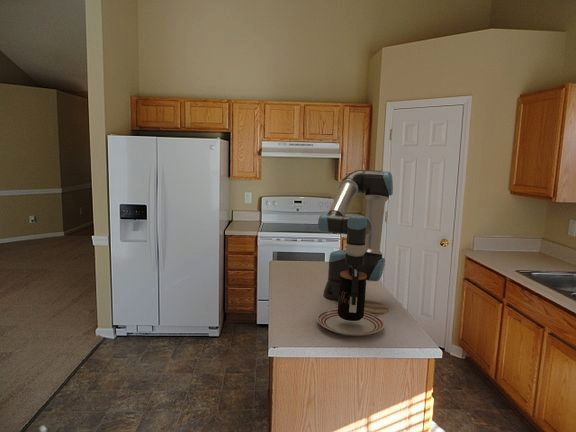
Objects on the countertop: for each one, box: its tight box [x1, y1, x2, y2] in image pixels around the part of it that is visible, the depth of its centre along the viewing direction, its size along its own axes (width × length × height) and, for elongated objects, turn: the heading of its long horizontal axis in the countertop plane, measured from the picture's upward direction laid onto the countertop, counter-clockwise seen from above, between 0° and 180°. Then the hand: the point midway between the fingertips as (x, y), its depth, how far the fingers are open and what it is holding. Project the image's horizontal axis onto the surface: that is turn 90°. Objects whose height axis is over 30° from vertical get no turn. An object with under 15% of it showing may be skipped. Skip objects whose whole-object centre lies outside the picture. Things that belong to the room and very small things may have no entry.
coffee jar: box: [337, 270, 367, 321], centre depth 163 cm, size 11×11×18 cm
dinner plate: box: [316, 308, 385, 337], centre depth 164 cm, size 27×27×3 cm
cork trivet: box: [364, 300, 389, 315], centre depth 187 cm, size 16×16×1 cm
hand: (351, 306), depth 164 cm, fingers closed on coffee jar, 11 cm apart
